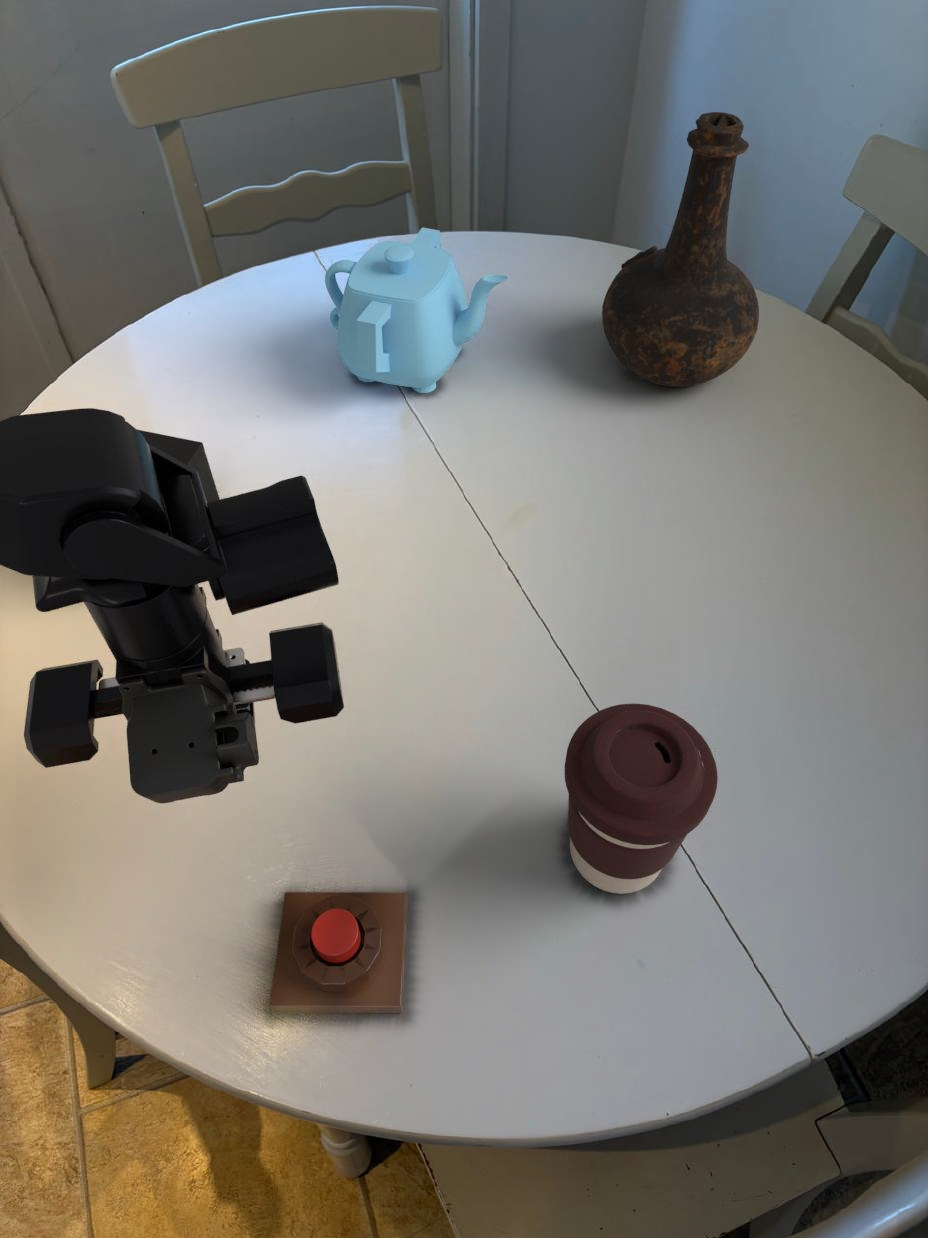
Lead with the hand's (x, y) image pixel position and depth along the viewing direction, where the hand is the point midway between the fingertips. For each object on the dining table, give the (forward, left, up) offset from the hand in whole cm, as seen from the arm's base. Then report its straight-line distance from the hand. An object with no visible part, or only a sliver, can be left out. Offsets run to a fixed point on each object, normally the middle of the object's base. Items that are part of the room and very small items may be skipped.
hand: (219, 757), depth 62 cm
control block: (+3, -13, -11) cm, 17 cm away
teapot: (+34, +51, -11) cm, 62 cm away
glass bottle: (+62, +39, -11) cm, 74 cm away
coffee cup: (+25, -13, -11) cm, 31 cm away
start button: (+3, -13, -8) cm, 15 cm away
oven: (0, +35, -11) cm, 37 cm away
